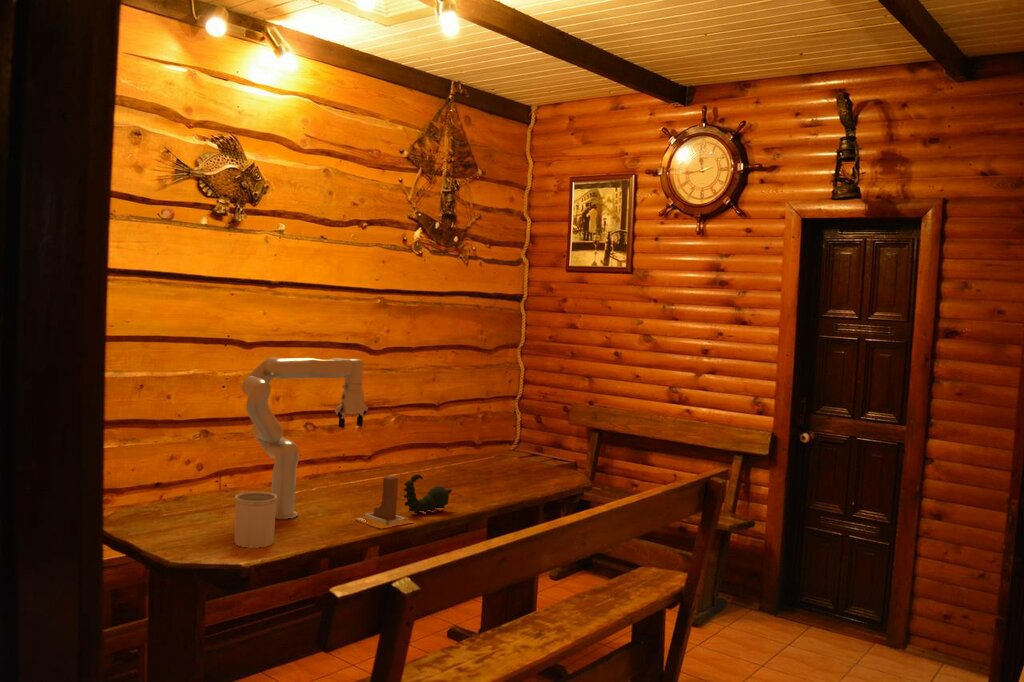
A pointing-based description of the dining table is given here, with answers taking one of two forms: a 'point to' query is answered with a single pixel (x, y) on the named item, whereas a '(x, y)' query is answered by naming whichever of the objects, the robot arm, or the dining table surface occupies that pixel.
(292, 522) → the dining table surface
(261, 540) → the utensil holder
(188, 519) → the dining table surface
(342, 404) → the robot arm
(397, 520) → the dock tray
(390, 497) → the wooden block
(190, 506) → the dining table surface
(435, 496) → the toy figurine
